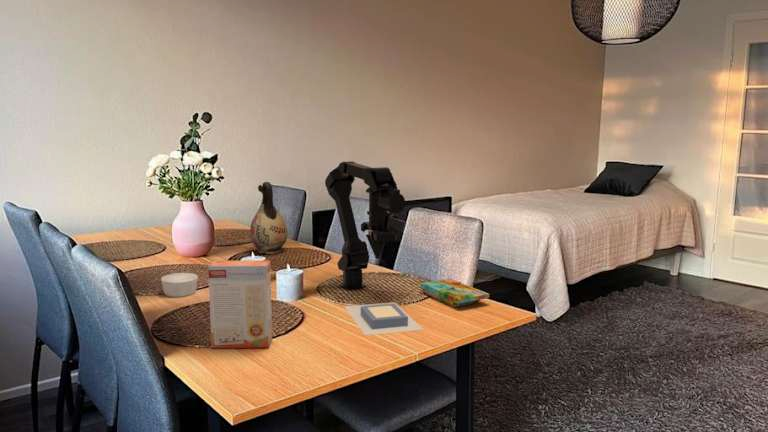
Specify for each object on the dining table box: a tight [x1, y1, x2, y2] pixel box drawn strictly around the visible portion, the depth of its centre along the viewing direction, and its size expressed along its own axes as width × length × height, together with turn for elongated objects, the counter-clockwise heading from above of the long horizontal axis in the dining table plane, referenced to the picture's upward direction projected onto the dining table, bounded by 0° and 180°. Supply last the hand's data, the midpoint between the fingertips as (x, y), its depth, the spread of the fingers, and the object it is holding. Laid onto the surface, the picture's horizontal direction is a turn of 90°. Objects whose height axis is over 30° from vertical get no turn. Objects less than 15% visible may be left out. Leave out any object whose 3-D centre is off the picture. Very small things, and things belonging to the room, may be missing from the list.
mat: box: [343, 301, 424, 336], centre depth 163 cm, size 24×16×1 cm, turn 17°
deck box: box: [361, 304, 408, 329], centre depth 160 cm, size 2×10×12 cm
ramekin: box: [160, 272, 199, 298], centre depth 184 cm, size 11×11×5 cm
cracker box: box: [207, 260, 273, 349], centre depth 141 cm, size 14×6×21 cm, turn 92°
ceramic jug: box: [249, 181, 289, 255], centre depth 238 cm, size 17×15×30 cm
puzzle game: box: [419, 278, 490, 308], centre depth 181 cm, size 12×5×20 cm
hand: (377, 258), depth 179 cm, fingers closed
